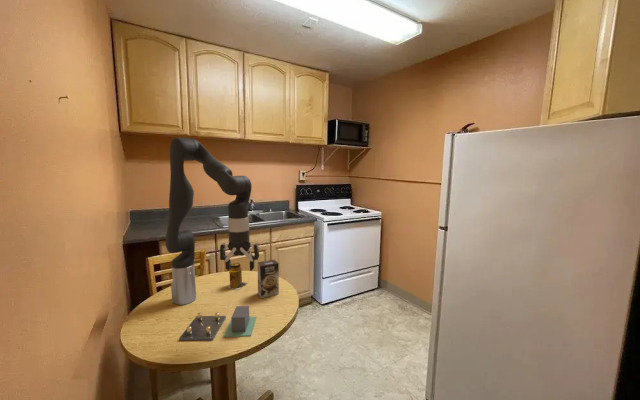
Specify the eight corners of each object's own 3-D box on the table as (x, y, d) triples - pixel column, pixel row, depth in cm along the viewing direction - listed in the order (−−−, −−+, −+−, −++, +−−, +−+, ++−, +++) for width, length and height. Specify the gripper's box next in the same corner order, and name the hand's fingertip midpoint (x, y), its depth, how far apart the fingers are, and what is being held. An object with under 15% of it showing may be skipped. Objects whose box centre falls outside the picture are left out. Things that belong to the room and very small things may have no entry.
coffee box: (261, 298, 126) (260, 266, 124) (257, 292, 131) (256, 261, 129) (279, 294, 130) (278, 263, 128) (275, 288, 136) (274, 258, 133)
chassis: (179, 340, 95) (178, 331, 95) (196, 318, 109) (196, 310, 109) (212, 340, 96) (212, 331, 95) (225, 318, 110) (225, 310, 109)
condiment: (226, 287, 137) (225, 265, 135) (237, 281, 144) (236, 260, 143) (237, 290, 134) (236, 267, 132) (248, 283, 142) (247, 262, 140)
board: (223, 338, 97) (222, 321, 97) (232, 319, 109) (231, 303, 108) (251, 336, 98) (250, 320, 97) (256, 318, 110) (256, 303, 109)
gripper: (216, 231, 95) (218, 274, 97) (255, 231, 96) (256, 273, 98) (223, 226, 103) (224, 266, 105) (259, 226, 103) (260, 266, 105)
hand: (240, 270), depth 101 cm, fingers open, 8 cm apart
